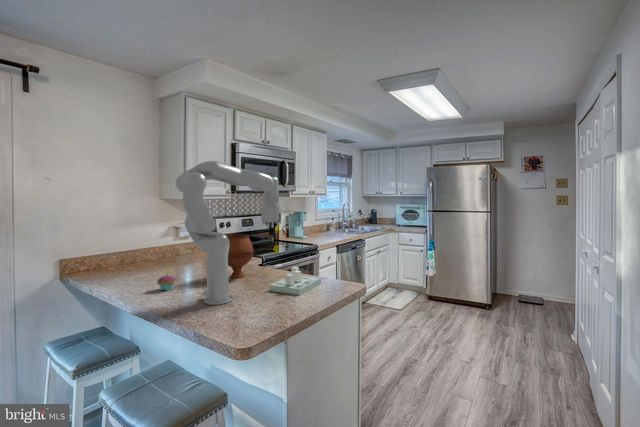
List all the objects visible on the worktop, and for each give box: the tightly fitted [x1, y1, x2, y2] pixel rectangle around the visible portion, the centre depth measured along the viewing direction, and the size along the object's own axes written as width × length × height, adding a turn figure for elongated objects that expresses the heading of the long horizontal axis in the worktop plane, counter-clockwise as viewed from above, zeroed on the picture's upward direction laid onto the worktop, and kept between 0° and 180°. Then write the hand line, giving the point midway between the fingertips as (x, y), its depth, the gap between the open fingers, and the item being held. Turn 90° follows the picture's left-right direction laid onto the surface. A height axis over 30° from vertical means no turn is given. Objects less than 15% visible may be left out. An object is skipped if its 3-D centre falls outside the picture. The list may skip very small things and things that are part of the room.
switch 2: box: [290, 266, 300, 274], centre depth 180 cm, size 3×3×5 cm
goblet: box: [225, 233, 254, 280], centre depth 194 cm, size 19×19×25 cm
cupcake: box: [156, 266, 176, 291], centre depth 170 cm, size 9×8×12 cm
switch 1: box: [284, 273, 294, 286], centre depth 164 cm, size 3×3×5 cm
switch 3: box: [293, 270, 302, 282], centre depth 171 cm, size 3×3×5 cm
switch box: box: [268, 275, 322, 296], centre depth 172 cm, size 18×22×3 cm
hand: (272, 235), depth 174 cm, fingers closed
